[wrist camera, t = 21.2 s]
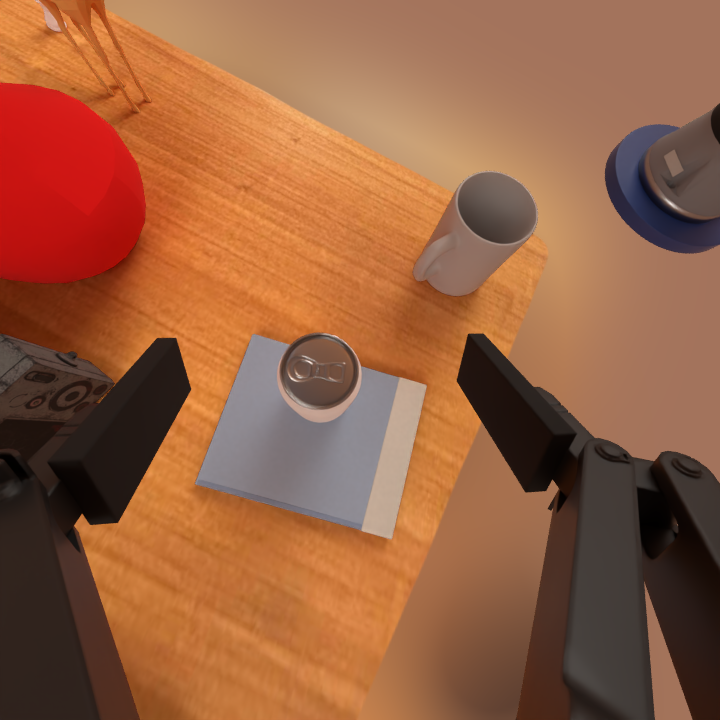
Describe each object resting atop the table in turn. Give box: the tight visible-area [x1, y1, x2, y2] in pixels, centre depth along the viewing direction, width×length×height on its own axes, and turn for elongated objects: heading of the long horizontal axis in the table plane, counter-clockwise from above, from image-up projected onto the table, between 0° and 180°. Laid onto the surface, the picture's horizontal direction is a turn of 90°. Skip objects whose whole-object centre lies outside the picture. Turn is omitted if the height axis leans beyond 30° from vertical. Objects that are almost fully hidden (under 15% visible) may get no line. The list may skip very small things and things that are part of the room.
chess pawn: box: [35, 0, 67, 32], centre depth 41 cm, size 3×2×4 cm
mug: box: [413, 171, 538, 296], centre depth 36 cm, size 12×8×11 cm
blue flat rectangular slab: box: [195, 334, 427, 539], centre depth 34 cm, size 20×16×1 cm
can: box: [277, 333, 362, 423], centre depth 29 cm, size 6×6×12 cm
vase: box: [0, 83, 146, 284], centre depth 28 cm, size 18×18×19 cm
